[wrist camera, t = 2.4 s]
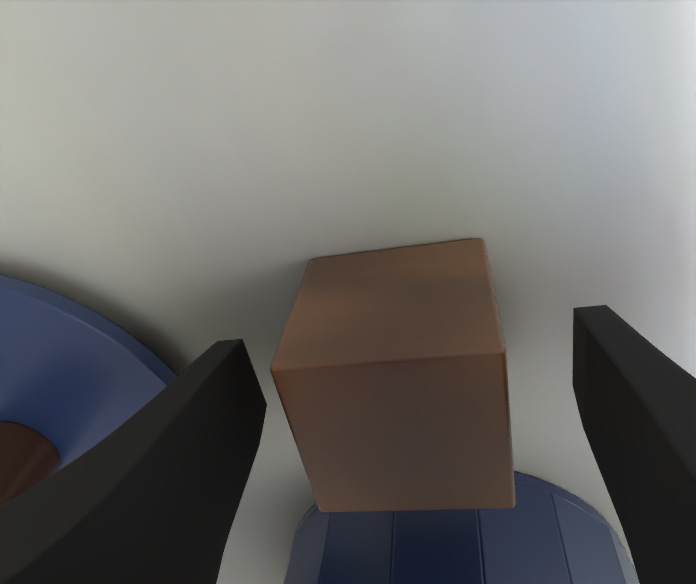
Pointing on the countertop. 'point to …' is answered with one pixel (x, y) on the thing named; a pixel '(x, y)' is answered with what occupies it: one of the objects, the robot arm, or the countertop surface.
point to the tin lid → (63, 382)
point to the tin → (464, 544)
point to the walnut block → (399, 381)
